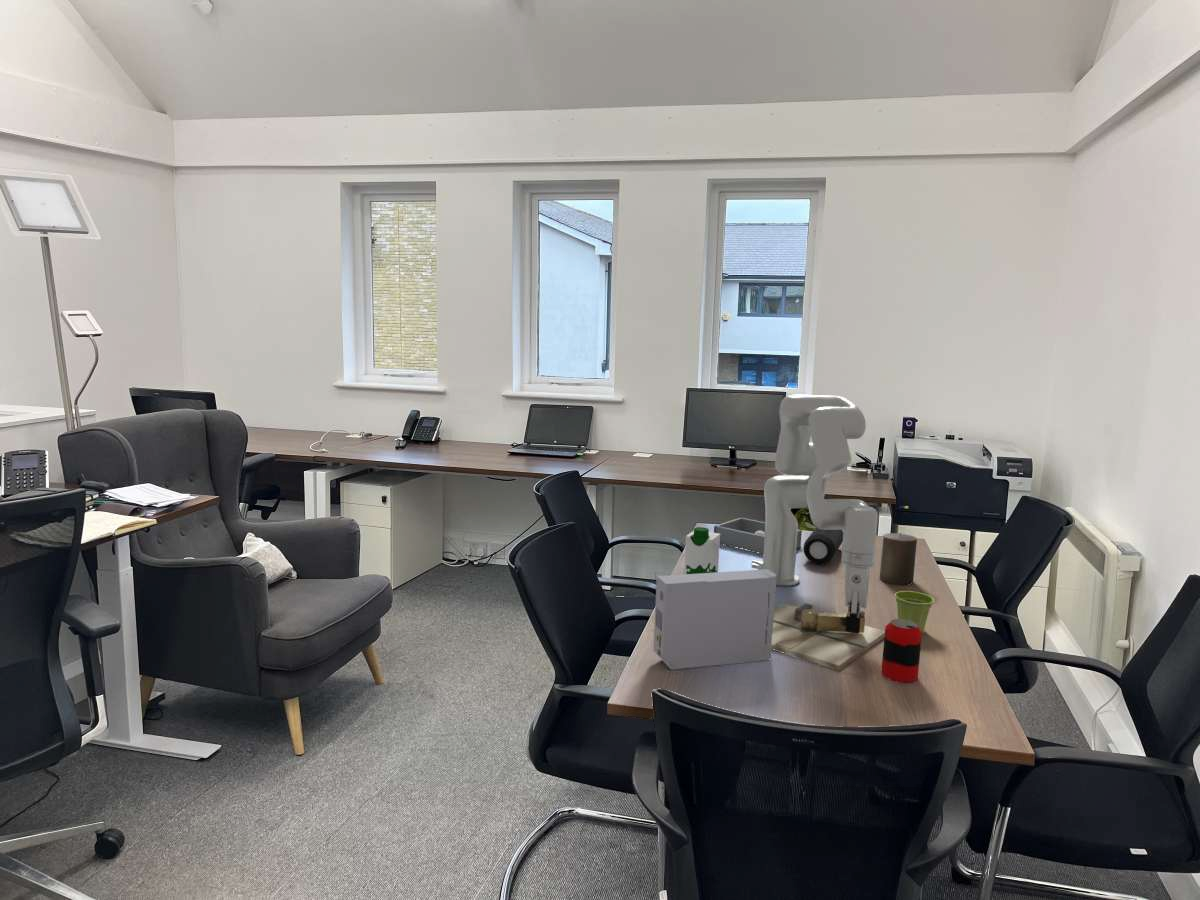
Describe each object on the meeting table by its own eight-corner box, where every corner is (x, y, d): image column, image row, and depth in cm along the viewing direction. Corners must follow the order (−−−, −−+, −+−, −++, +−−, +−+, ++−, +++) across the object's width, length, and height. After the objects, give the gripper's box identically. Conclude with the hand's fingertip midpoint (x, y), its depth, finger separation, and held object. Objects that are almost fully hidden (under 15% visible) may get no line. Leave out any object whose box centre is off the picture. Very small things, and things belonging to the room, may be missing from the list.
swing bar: (802, 631, 199) (803, 612, 198) (799, 625, 202) (800, 606, 202) (865, 634, 198) (866, 615, 197) (860, 627, 202) (862, 609, 201)
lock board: (729, 636, 199) (730, 620, 198) (783, 607, 220) (784, 593, 220) (838, 670, 181) (839, 653, 181) (886, 635, 203) (887, 620, 202)
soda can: (898, 685, 175) (903, 632, 173) (873, 671, 182) (878, 619, 180) (925, 680, 178) (930, 627, 176) (899, 666, 185) (904, 615, 183)
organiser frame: (713, 542, 283) (714, 526, 282) (739, 533, 297) (740, 517, 296) (775, 557, 268) (776, 539, 267) (800, 546, 282) (801, 529, 281)
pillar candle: (913, 587, 241) (918, 538, 239) (879, 582, 244) (883, 534, 242) (912, 578, 251) (917, 530, 248) (878, 574, 254) (883, 527, 251)
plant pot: (929, 626, 210) (933, 593, 209) (931, 639, 202) (935, 605, 200) (891, 620, 213) (894, 588, 212) (891, 633, 204) (895, 600, 203)
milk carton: (679, 599, 224) (683, 528, 221) (690, 589, 233) (693, 521, 229) (710, 604, 221) (714, 533, 218) (720, 595, 229) (724, 525, 226)
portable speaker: (814, 545, 284) (816, 517, 283) (843, 549, 280) (846, 521, 279) (800, 564, 261) (803, 534, 260) (832, 569, 257) (835, 538, 256)
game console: (774, 660, 186) (780, 576, 182) (662, 671, 178) (666, 584, 175) (762, 650, 191) (767, 568, 188) (652, 661, 183) (656, 575, 180)
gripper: (874, 567, 186) (868, 644, 188) (874, 551, 200) (868, 623, 202) (840, 563, 188) (834, 640, 191) (842, 548, 202) (837, 619, 205)
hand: (852, 631), depth 196 cm, fingers closed
